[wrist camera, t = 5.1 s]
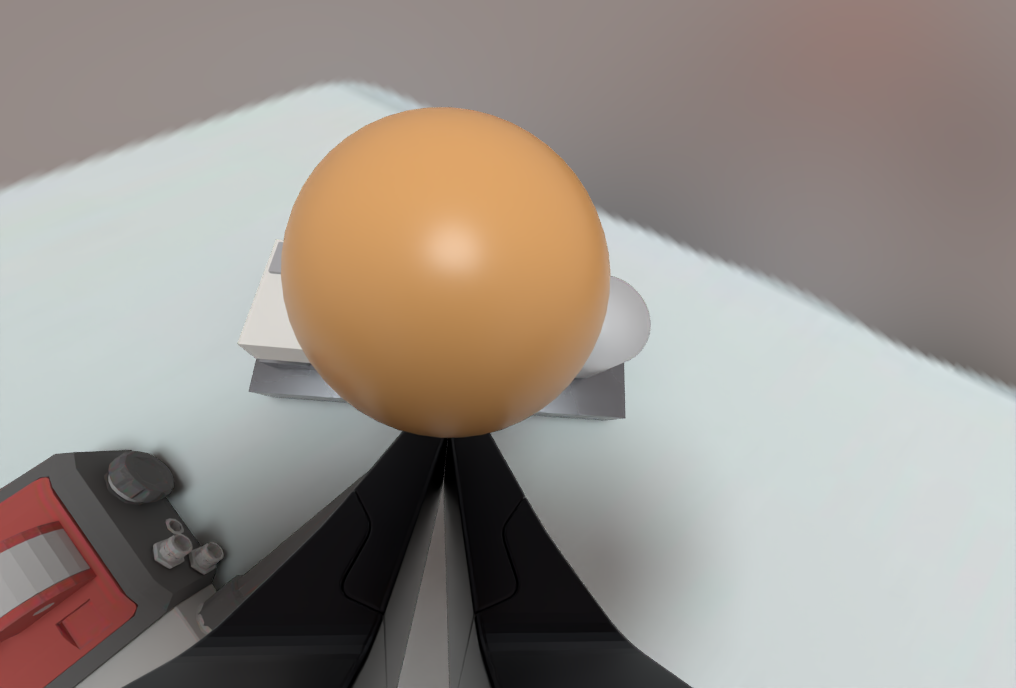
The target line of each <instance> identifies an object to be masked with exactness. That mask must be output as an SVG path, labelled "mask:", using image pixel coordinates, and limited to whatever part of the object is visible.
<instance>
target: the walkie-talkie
mask: <svg viewBox="0 0 1016 688" xmlns="http://www.w3.org/2000/svg"><path fill="white" fill-rule="evenodd" d="M367 473H368V472H367ZM367 473H366V474H367ZM366 474H364V475H363V476H362V477H361V478H360V479H358V480H357V481H356V482H355V483H354V484H352V485H351V486H350V487H349V488H348V489H346V490H345V491H344V492H343V493H342V494H341V495H339V496H338V497H337V498H336V499H335V500H333V501H332V502H331V503H330V504H329V505H327V506H326V507H325V508H324V509H323V510H321V511H320V512H319V513H318V514H317V515H315V516H314V517H313V518H312V519H311V520H309V521H308V522H307V523H306V524H305V525H303V526H302V527H301V528H300V529H299V530H297V531H296V532H295V533H294V534H293V535H291V536H290V537H289V538H288V539H287V540H285V541H284V542H283V543H282V544H281V545H279V546H278V547H277V548H276V549H275V550H273V551H272V552H271V553H270V554H269V555H267V556H266V557H265V558H264V559H263V560H261V561H260V562H259V563H258V564H257V565H255V566H254V567H253V568H252V569H251V570H249V571H248V572H247V573H246V574H245V575H243V576H236V577H235V578H233V579H232V580H230V581H229V582H228V583H227V584H226V585H224V586H223V587H222V588H221V589H220V590H218V591H216V589H215V588H214V586H213V585H212V584H211V583H212V580H213V577H214V575H215V572H216V570H217V568H216V563H218V562H219V561H220V560H221V559H222V558H223V556H224V555H223V550H222V548H221V547H220V546H219V545H218V544H217V543H214V542H209V543H208V544H207V543H206V544H205V545H203V546H200V545H199V543H198V542H197V540H196V539H195V538H194V536H193V535H192V533H191V532H190V531H189V529H188V528H187V526H186V525H185V524H184V522H183V521H182V520H181V518H180V517H179V515H178V514H177V513H176V511H175V510H174V508H173V507H172V506H171V504H170V503H169V501H168V500H167V499H166V496H167V495H168V494H170V493H171V490H172V489H174V478H173V475H172V473H171V471H170V470H169V468H168V467H167V466H166V465H165V464H164V463H163V462H161V461H160V460H159V459H157V458H156V457H154V456H152V455H150V454H148V453H144V452H138V451H132V450H119V451H96V452H73V453H62V454H55V455H53V456H51V457H50V458H48V459H47V460H45V461H44V462H42V463H40V464H39V465H37V466H36V467H34V468H33V469H31V470H30V471H28V472H26V473H25V474H23V475H22V476H20V477H19V478H17V479H15V480H14V481H12V482H11V483H9V484H8V485H6V486H4V487H3V488H1V489H0V688H121V687H123V686H125V685H127V684H129V683H130V682H132V681H134V680H136V679H138V678H139V677H141V676H143V675H145V674H147V673H148V672H150V671H152V670H154V669H156V668H157V667H159V666H161V665H163V664H165V663H166V662H168V661H170V660H171V659H173V658H175V657H176V656H178V655H179V654H181V653H182V652H184V651H185V650H187V649H188V648H190V647H191V646H192V645H194V644H195V643H196V642H198V641H199V640H200V639H202V638H203V637H204V636H206V635H207V634H208V633H209V632H210V631H212V630H213V629H214V628H215V627H216V626H218V625H219V624H220V623H221V622H222V621H223V620H224V619H225V618H226V617H227V616H228V615H230V614H231V613H232V612H233V611H234V610H235V609H236V608H237V607H238V606H239V605H240V604H241V603H242V602H243V601H244V600H245V599H246V598H247V597H248V596H249V595H250V594H251V593H253V592H254V591H255V590H256V589H257V588H258V587H259V586H260V585H261V584H262V583H263V582H264V581H265V580H266V579H267V578H268V577H269V576H270V575H271V574H272V573H273V572H275V571H276V570H277V569H278V568H279V567H280V566H281V565H282V564H283V563H284V562H285V561H286V560H287V559H288V558H289V557H290V556H291V555H292V554H293V553H294V552H295V551H296V550H297V549H298V548H299V547H300V546H301V545H302V544H303V543H304V542H305V541H306V540H307V539H308V538H309V537H310V536H311V535H313V534H314V533H315V532H316V531H317V530H318V529H319V528H320V526H321V525H322V524H323V523H324V522H325V521H326V520H327V519H328V518H329V516H330V515H331V514H332V513H333V512H334V511H335V510H336V509H337V508H338V507H339V505H340V504H341V503H342V502H343V501H344V499H345V498H346V497H347V496H348V495H349V494H350V492H351V491H354V488H355V487H356V486H357V484H358V483H359V482H360V481H361V480H362V479H363V477H364V476H365V475H366Z"/></svg>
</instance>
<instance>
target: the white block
mask: <svg viewBox="0 0 1016 688" xmlns="http://www.w3.org/2000/svg"><path fill="white" fill-rule="evenodd" d="M283 241H284V240H278V239H276V241H275V243H274V246H273V249H272V251H271V254H270V257H269V259H268V262H267V265H266V267H265V270H264V273H263V276H262V278H261V281H260V284H259V286H258V289H257V292H256V294H255V297H254V300H253V303H252V305H251V308H250V311H249V313H248V316H247V319H246V321H245V324H244V327H243V329H242V332H241V335H240V338H239V340H238V343H237V344H238V345H239V346H241V347H242V348H243V349H244V350H246V351H247V352H248V353H249V354H250V355H252V356H253V357H254V358H256V359H268V360H280V361H292V362H304V363H310V362H309V360H308V358H307V357H306V355H305V353H304V352H303V350H302V348H301V346H300V345H299V343H298V341H297V338H296V336H295V334H294V331H293V329H292V326H291V324H290V322H289V318H288V314H287V310H286V307H285V303H284V299H283V290H282V282H281V253H282V247H283Z"/></svg>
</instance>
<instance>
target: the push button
mask: <svg viewBox="0 0 1016 688" xmlns="http://www.w3.org/2000/svg"><path fill="white" fill-rule="evenodd" d="M650 327H651V322H650V315H649V311H648V308H647V306H646V304H645V302H644V300H643V298H642V297H641V295H640V294H639V293H638V292H637V291H636V290H635V289H634V288H633V287H632V286H631V285H629V284H628V283H627V282H625V281H623V280H621V279H619V278H616V277H613V276H610V294H609V300H608V306H607V313H606V316H605V320H604V323H603V326H602V330H601V333H600V335H599V337H598V340H597V342H596V344H595V347H594V349H593V351H592V353H591V354H590V356H589V358H588V359H587V361H586V363H585V364H584V366H583V368H582V369H581V371H580V372H579V373H578V374H577V376H576V377H575V378H587V377H591V376H593V375H596V374H598V373H600V372H603V371H605V370H607V369H610V368H612V367H614V366H617V365H619V364H622V363H624V362H626V361H629V360H631V359H632V358H634V357H635V356H637V355H638V354H639V353H640V352H641V351H642V349H643V348H644V346H645V345H646V343H647V341H648V338H649V335H650Z"/></svg>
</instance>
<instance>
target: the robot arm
mask: <svg viewBox="0 0 1016 688" xmlns="http://www.w3.org/2000/svg"><path fill="white" fill-rule="evenodd" d="M447 441H448V442H447ZM446 451H447V452H446ZM445 461H446V463H445ZM444 471H445V474H444ZM443 480H444V524H445V558H446V592H447V626H448V660H449V688H692V687H691V686H689V685H688V684H687V683H685V682H684V681H682V680H681V679H680V678H678V677H677V676H675V675H674V674H672V673H671V672H670V671H668V670H667V669H665V668H664V667H663V666H661V665H660V664H658V663H657V662H655V661H654V660H653V659H651V658H650V657H648V656H647V655H646V654H644V653H643V652H642V651H640V650H639V649H638V648H637V647H635V646H634V645H633V644H632V643H631V642H630V641H629V640H628V639H627V638H626V637H625V636H624V635H623V634H622V633H621V632H620V631H619V630H618V629H617V628H616V626H615V625H614V624H613V623H612V622H611V620H610V619H609V618H608V616H607V615H606V614H605V613H604V611H603V610H602V608H601V607H600V606H599V604H598V603H597V602H596V600H595V599H594V597H593V596H592V595H591V593H590V592H589V591H588V589H587V588H586V587H585V585H584V584H583V582H582V581H581V580H580V578H579V577H578V576H577V574H576V573H575V571H574V570H573V569H572V567H571V566H570V565H569V563H568V562H567V560H566V559H565V558H564V556H563V555H562V554H561V552H560V551H559V549H558V548H557V546H556V545H555V543H554V542H553V541H552V539H551V538H550V536H549V535H548V533H547V532H546V530H545V528H544V527H543V525H542V523H541V522H540V520H539V519H538V517H537V515H536V514H535V512H534V510H533V508H532V507H531V505H530V503H529V501H528V499H527V498H525V494H524V493H523V491H522V489H521V487H520V486H519V484H518V482H517V480H516V478H515V477H514V475H513V473H512V471H511V470H510V468H509V466H508V464H507V462H506V461H505V459H504V457H503V455H502V454H501V452H500V450H499V448H498V446H497V445H496V443H495V441H494V439H493V438H492V436H491V434H490V433H487V434H483V435H477V436H470V437H462V438H439V437H430V436H422V435H417V434H413V433H409V432H405V431H402V433H401V434H400V435H399V436H398V437H397V438H396V440H395V441H394V442H393V443H392V444H391V446H390V447H389V448H388V449H387V450H386V451H385V453H384V454H383V455H382V456H381V457H380V458H379V460H378V461H377V462H376V463H375V464H374V466H373V467H372V468H371V469H370V470H369V471H368V473H367V474H366V475H365V476H364V477H363V479H362V480H361V481H360V482H359V483H358V484H357V486H356V487H355V488H354V491H351V492H350V494H349V495H348V496H347V497H346V498H345V499H344V501H343V502H342V503H341V504H340V505H339V507H338V508H337V509H336V510H335V511H334V512H333V513H332V514H331V515H330V516H329V518H328V519H327V520H326V521H325V522H324V523H323V524H322V525H321V526H320V528H319V529H318V530H317V531H316V532H315V533H314V534H313V535H311V536H310V537H309V538H308V539H307V540H306V541H305V542H304V543H303V544H302V545H301V546H300V547H299V548H298V549H297V550H296V551H295V552H294V553H293V554H292V555H291V556H290V557H289V558H288V559H287V560H286V561H285V562H284V563H283V564H282V565H281V566H280V567H279V568H278V569H277V570H276V571H275V572H273V573H272V574H271V575H270V576H269V577H268V578H267V579H266V580H265V581H264V582H263V583H262V584H261V585H260V586H259V587H258V588H257V589H256V590H255V591H254V592H253V593H251V594H250V595H249V596H248V597H247V598H246V599H245V600H244V601H243V602H242V603H241V604H240V605H239V606H238V607H237V608H236V609H235V610H234V611H233V612H232V613H231V614H230V615H228V616H227V617H226V618H225V619H224V620H223V621H222V622H221V623H220V624H219V625H218V626H216V627H215V628H214V629H213V630H212V631H210V632H209V633H208V634H207V635H206V636H204V637H203V638H202V639H200V640H199V641H198V642H196V643H195V644H194V645H192V646H191V647H190V648H188V649H187V650H185V651H184V652H182V653H181V654H179V655H178V656H176V657H175V658H173V659H171V660H170V661H168V662H166V663H165V664H163V665H161V666H159V667H157V668H156V669H154V670H152V671H150V672H148V673H147V674H145V675H143V676H141V677H139V678H138V679H136V680H134V681H132V682H130V683H129V684H127V685H125V686H123V687H121V688H397V686H398V682H399V677H400V673H401V669H402V664H403V660H404V655H405V651H406V647H407V642H408V638H409V633H410V629H411V625H412V620H413V616H414V611H415V607H416V603H417V598H418V594H419V589H420V585H421V581H422V576H423V572H424V567H425V563H426V559H427V554H428V550H429V545H430V541H431V536H432V532H433V528H434V523H435V519H436V514H437V510H438V506H439V501H440V497H441V492H442V487H443Z"/></svg>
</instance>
